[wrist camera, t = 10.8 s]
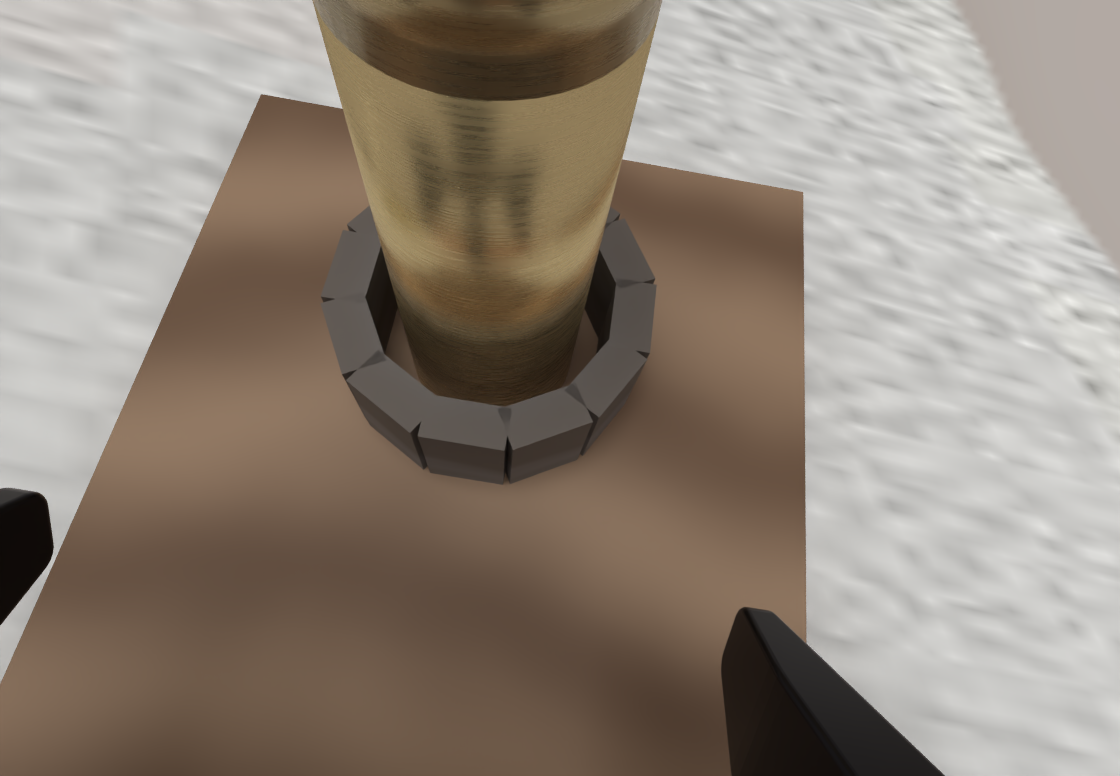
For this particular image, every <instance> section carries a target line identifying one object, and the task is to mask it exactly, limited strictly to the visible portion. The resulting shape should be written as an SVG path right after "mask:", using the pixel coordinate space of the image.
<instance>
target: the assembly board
mask: <svg viewBox="0 0 1120 776" xmlns="http://www.w3.org/2000/svg"><path fill="white" fill-rule="evenodd" d="M743 607H751V608H757V609H763V610H769V611H772V612H773V613H775V614H776V615H777V616H778V617H779V618H780V619H781V620H782V621H783V622H784V623H785V624H786V625H787V626H789V627H790V628H791V629H792V630H793V631H794V632H795V633H796V634H797V635H798V636H799V637H800V638H801V639H802V640H803V641H804V642H805V643H806V529H805V388H804V246H803V192H800V191H794V190H788V189H783V188H777V187H772V186H766V185H761V184H755V183H750V182H744V181H739V180H733V179H728V178H722V177H716V176H711V175H705V174H700V173H694V172H689V171H683V170H678V169H672V168H667V167H661V166H656V165H650V164H644V163H639V162H633V161H628V160H622V161H621V165H620V169H619V173H618V177H617V181H616V185H615V189H614V193H613V197H612V201H611V205H610V209H609V213H608V217H607V221H606V225H605V229H604V233H603V237H602V241H601V245H600V248H599V252H598V256H597V260H596V264H595V268H594V272H593V276H592V280H591V284H590V288H589V292H588V296H587V300H586V304H585V308H584V312H583V316H582V320H581V324H580V328H579V332H578V335H577V339H576V343H575V347H574V351H573V355H572V359H571V363H570V367H569V371H568V374H567V377H566V379H565V381H564V383H563V385H562V387H561V388H560V389H557V390H554V391H551V392H548V393H545V394H542V395H539V396H536V397H533V398H530V399H527V400H524V401H521V402H518V403H515V404H512V405H509V406H506V407H502V406H496V405H490V404H484V403H478V402H472V401H466V400H460V399H454V398H448V397H442V396H436V395H434V394H433V393H432V392H431V391H430V390H428V389H427V388H426V387H425V386H423V385H422V384H421V382H420V380H419V378H418V375H417V372H416V369H415V365H414V362H413V358H412V355H411V351H410V348H409V344H408V340H407V337H406V333H405V330H404V326H403V323H402V319H401V315H400V312H399V308H398V305H397V301H396V297H395V294H394V290H393V287H392V283H391V280H390V276H389V272H388V269H387V265H386V262H385V258H384V254H383V251H382V247H381V244H380V240H379V237H378V233H377V229H376V226H375V222H374V219H373V215H372V212H371V208H370V204H369V201H368V197H367V194H366V190H365V186H364V183H363V179H362V176H361V172H360V169H359V165H358V161H357V158H356V154H355V151H354V147H353V143H352V140H351V136H350V133H349V129H348V126H347V122H346V118H345V115H344V111H343V109H340V108H334V107H329V106H323V105H318V104H312V103H307V102H301V101H296V100H290V99H285V98H279V97H273V96H268V95H262V94H261V96H260V98H259V101H258V103H257V105H256V107H255V110H254V112H253V114H252V116H251V119H250V121H249V123H248V125H247V128H246V130H245V132H244V134H243V137H242V139H241V141H240V144H239V146H238V148H237V150H236V153H235V155H234V157H233V159H232V162H231V164H230V166H229V168H228V171H227V173H226V175H225V177H224V180H223V182H222V184H221V186H220V189H219V191H218V193H217V196H216V198H215V200H214V202H213V205H212V207H211V209H210V211H209V214H208V216H207V218H206V220H205V223H204V225H203V227H202V229H201V232H200V234H199V236H198V238H197V241H196V243H195V245H194V248H193V250H192V252H191V254H190V257H189V259H188V261H187V263H186V266H185V268H184V270H183V272H182V275H181V277H180V279H179V281H178V284H177V286H176V288H175V290H174V293H173V295H172V297H171V300H170V302H169V304H168V306H167V309H166V311H165V313H164V315H163V318H162V320H161V322H160V324H159V327H158V329H157V331H156V333H155V336H154V338H153V340H152V342H151V345H150V347H149V349H148V352H147V354H146V356H145V358H144V361H143V363H142V365H141V367H140V370H139V372H138V374H137V376H136V379H135V381H134V383H133V385H132V388H131V390H130V392H129V394H128V397H127V399H126V401H125V404H124V406H123V408H122V410H121V413H120V415H119V417H118V419H117V422H116V424H115V426H114V428H113V431H112V433H111V435H110V437H109V440H108V442H107V444H106V446H105V449H104V451H103V453H102V456H101V458H100V460H99V462H98V465H97V467H96V469H95V471H94V474H93V476H92V478H91V480H90V483H89V485H88V487H87V489H86V492H85V494H84V496H83V498H82V501H81V503H80V505H79V508H78V510H77V512H76V514H75V517H74V519H73V521H72V523H71V526H70V528H69V530H68V532H67V535H66V537H65V539H64V541H63V544H62V546H61V548H60V550H59V553H58V555H57V557H56V560H55V562H54V564H53V566H52V569H51V571H50V573H49V575H48V578H47V580H46V582H45V584H44V587H43V589H42V591H41V593H40V596H39V598H38V600H37V602H36V605H35V607H34V609H33V612H32V614H31V616H30V618H29V621H28V623H27V625H26V627H25V630H24V632H23V634H22V636H21V639H20V641H19V643H18V645H17V648H16V650H15V652H14V654H13V657H12V659H11V661H10V664H9V666H8V668H7V670H6V673H5V675H4V677H3V679H2V682H1V684H0V776H731V768H730V758H729V748H728V738H727V728H726V718H725V708H724V698H723V688H722V678H721V661H722V655H723V652H724V649H725V646H726V643H727V640H728V637H729V634H730V631H731V628H732V625H733V622H734V619H735V616H736V614H737V612H738V611H739V609H741V608H743Z"/></svg>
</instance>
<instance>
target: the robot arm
mask: <svg viewBox="0 0 1120 776" xmlns="http://www.w3.org/2000/svg"><path fill="white" fill-rule="evenodd" d="M53 548H54V545H53V537H52V530H51V523H50V516H49V509H48V503H47V500H46V499H45V497H44V496H43V495H42V494H40V493H38V492H33V491H27V490H21V489H15V488H2V489H0V625H1V624H2V623H3V621H4V620H5V619H6V618H7V616H8V615H9V614H10V613H11V611H12V610H13V609H14V608H15V606H16V605H17V604H18V603H19V601H20V600H21V599H22V597H23V596H24V595H25V594H26V592H27V591H28V590H29V589H30V587H31V586H32V585H33V584H34V582H35V581H36V580H37V579H38V577H39V576H40V575H41V574H42V572H43V571H44V570H45V568H46V567H47V565H48V564H49V562H50V560H51V557H52V554H53ZM721 678H722V688H723V698H724V708H725V718H726V728H727V738H728V748H729V758H730V768H731V776H945V775H944V774H943V773H942V772H941V771H940V770H938V769H937V768H936V767H935V766H934V765H933V764H932V763H931V762H930V761H929V760H928V759H927V758H926V757H925V756H924V755H923V754H922V753H921V752H920V751H919V750H918V749H916V748H915V747H914V746H913V745H912V744H911V743H910V742H909V741H908V740H907V739H906V738H905V737H904V736H903V735H902V734H901V733H900V732H899V731H898V730H897V729H895V728H894V727H893V726H892V725H891V724H890V723H889V722H888V721H887V720H886V719H885V718H884V717H883V716H882V715H881V714H880V713H879V712H878V711H877V710H876V709H875V708H873V707H872V706H871V705H870V704H869V703H868V702H867V701H866V700H865V699H864V698H863V697H862V696H861V695H860V694H859V693H858V692H857V691H856V690H855V689H854V688H852V687H851V686H850V685H849V684H848V683H847V682H846V681H845V680H844V679H843V678H842V677H841V676H840V675H839V674H838V673H837V672H836V671H835V670H834V669H833V668H832V667H830V666H829V665H828V664H827V663H826V662H825V661H824V660H823V659H822V658H821V657H820V656H819V655H818V654H817V653H816V652H815V651H814V650H813V649H812V648H811V647H809V646H808V645H807V644H806V643H805V642H804V641H803V640H802V639H801V638H800V637H799V636H798V635H797V634H796V633H795V632H794V631H793V630H792V629H791V628H790V627H789V626H787V625H786V624H785V623H784V622H783V621H782V620H781V619H780V618H779V617H778V616H777V615H776V614H775V613H773V612H772V611H769V610H763V609H757V608H751V607H743V608H741V609H739V611H738V612H737V614H736V616H735V619H734V622H733V625H732V628H731V631H730V634H729V637H728V640H727V643H726V646H725V649H724V652H723V655H722V661H721Z"/></svg>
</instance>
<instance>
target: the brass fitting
mask: <svg viewBox="0 0 1120 776" xmlns="http://www.w3.org/2000/svg"><path fill="white" fill-rule="evenodd" d="M661 3H662V0H313V4H314V7H315V11H316V15H317V18H318V22H319V25H320V29H321V32H322V36H323V40H324V43H325V47H326V50H327V54H328V58H329V61H330V65H331V68H332V72H333V75H334V79H335V83H336V86H337V90H338V93H339V97H340V101H341V104H342V108H343V111H344V115H345V118H346V122H347V126H348V129H349V133H350V136H351V140H352V143H353V147H354V151H355V154H356V158H357V161H358V165H359V169H360V172H361V176H362V179H363V183H364V186H365V190H366V194H367V197H368V201H369V204H370V208H371V212H372V215H373V219H374V222H375V226H376V229H377V233H378V237H379V240H380V244H381V247H382V251H383V254H384V258H385V262H386V265H387V269H388V272H389V276H390V280H391V283H392V287H393V290H394V294H395V297H396V301H397V305H398V308H399V312H400V315H401V319H402V323H403V326H404V330H405V333H406V337H407V340H408V344H409V348H410V351H411V355H412V358H413V362H414V365H415V369H416V372H417V375H418V378H419V380H420V382H421V384H422V385H423V386H425V387H426V388H427V389H428V390H430V391H431V392H432V393H433V394H434V395H436V396H442V397H448V398H454V399H460V400H466V401H472V402H478V403H484V404H490V405H496V406H502V407H506V406H509V405H512V404H515V403H518V402H521V401H524V400H527V399H530V398H533V397H536V396H539V395H542V394H545V393H548V392H551V391H554V390H557V389H560V388H561V387H562V385H563V383H564V381H565V379H566V377H567V374H568V371H569V367H570V363H571V359H572V355H573V351H574V347H575V343H576V339H577V335H578V332H579V328H580V324H581V320H582V316H583V312H584V308H585V304H586V300H587V296H588V292H589V288H590V284H591V280H592V276H593V272H594V268H595V264H596V260H597V256H598V252H599V248H600V245H601V241H602V237H603V233H604V229H605V225H606V221H607V217H608V213H609V209H610V205H611V201H612V197H613V193H614V189H615V185H616V181H617V177H618V173H619V169H620V165H621V161H622V157H623V154H624V150H625V146H626V142H627V138H628V134H629V130H630V126H631V122H632V118H633V114H634V110H635V106H636V102H637V98H638V94H639V90H640V86H641V82H642V78H643V74H644V70H645V67H646V63H647V59H648V55H649V51H650V47H651V43H652V39H653V35H654V31H655V27H656V23H657V19H658V15H659V11H660V7H661Z"/></svg>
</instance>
